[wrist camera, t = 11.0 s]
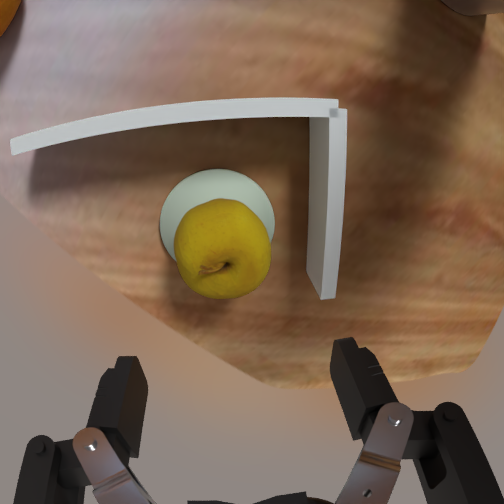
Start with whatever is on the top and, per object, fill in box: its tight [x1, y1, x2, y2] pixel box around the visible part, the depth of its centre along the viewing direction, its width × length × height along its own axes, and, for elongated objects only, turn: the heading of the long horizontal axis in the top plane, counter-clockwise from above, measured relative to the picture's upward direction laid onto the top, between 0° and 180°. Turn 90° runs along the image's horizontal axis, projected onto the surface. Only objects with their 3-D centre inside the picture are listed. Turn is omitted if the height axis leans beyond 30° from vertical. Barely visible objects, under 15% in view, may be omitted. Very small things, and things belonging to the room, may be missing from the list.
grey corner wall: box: [10, 98, 347, 300], centre depth 22 cm, size 23×15×4 cm, turn 92°
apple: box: [174, 198, 271, 299], centre depth 21 cm, size 6×6×8 cm
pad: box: [160, 169, 275, 261], centre depth 25 cm, size 9×9×1 cm
